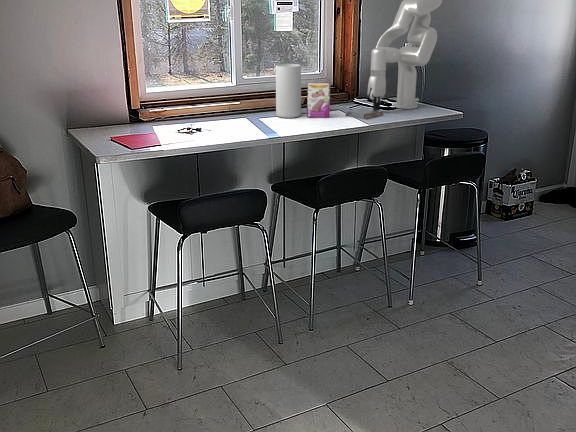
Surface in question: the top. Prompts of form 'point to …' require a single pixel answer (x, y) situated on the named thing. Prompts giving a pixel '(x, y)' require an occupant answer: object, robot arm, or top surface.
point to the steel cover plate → (361, 113)
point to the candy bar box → (318, 100)
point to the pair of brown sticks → (371, 115)
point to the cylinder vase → (288, 90)
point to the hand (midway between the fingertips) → (376, 109)
